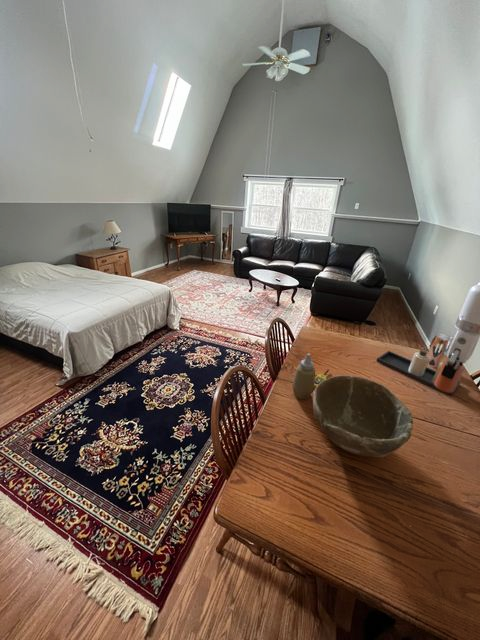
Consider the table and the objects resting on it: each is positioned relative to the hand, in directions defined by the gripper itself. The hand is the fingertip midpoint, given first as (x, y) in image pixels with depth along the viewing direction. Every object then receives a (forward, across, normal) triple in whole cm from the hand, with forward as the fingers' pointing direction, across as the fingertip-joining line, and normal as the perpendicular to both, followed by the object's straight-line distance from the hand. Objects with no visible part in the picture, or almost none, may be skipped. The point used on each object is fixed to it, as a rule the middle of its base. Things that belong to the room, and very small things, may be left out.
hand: (450, 372), depth 90 cm
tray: (+17, +19, +13) cm, 29 cm away
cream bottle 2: (+16, +19, +4) cm, 26 cm away
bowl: (+16, -37, +11) cm, 42 cm away
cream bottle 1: (+16, +20, +13) cm, 29 cm away
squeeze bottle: (+16, -33, +34) cm, 50 cm away
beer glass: (+17, +33, +11) cm, 39 cm away
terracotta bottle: (+6, 0, 0) cm, 6 cm away
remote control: (+16, -19, +35) cm, 43 cm away
